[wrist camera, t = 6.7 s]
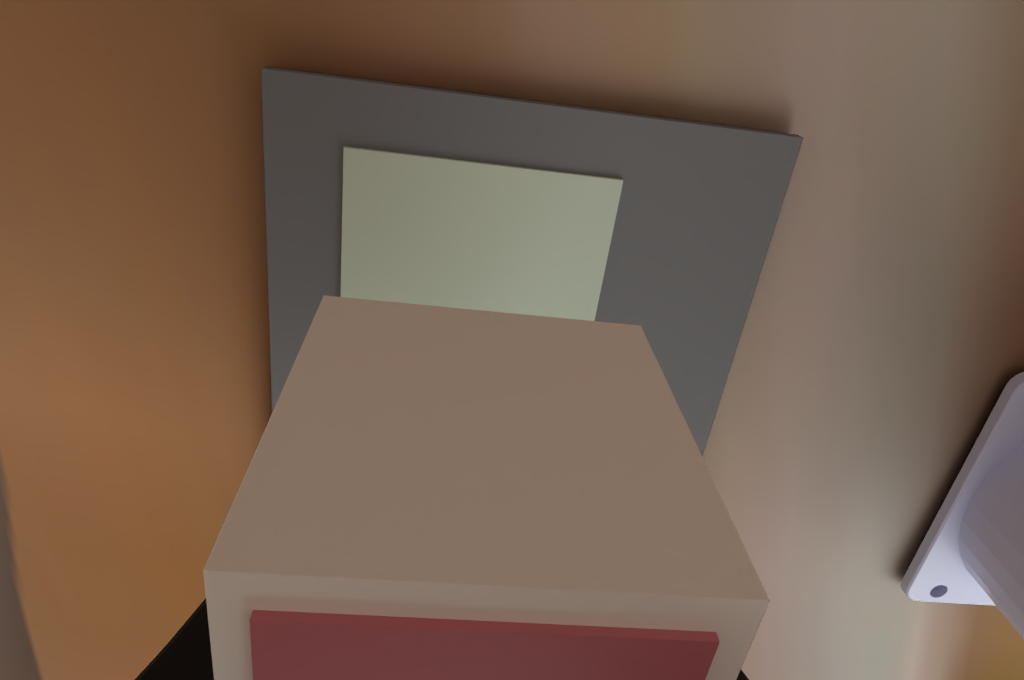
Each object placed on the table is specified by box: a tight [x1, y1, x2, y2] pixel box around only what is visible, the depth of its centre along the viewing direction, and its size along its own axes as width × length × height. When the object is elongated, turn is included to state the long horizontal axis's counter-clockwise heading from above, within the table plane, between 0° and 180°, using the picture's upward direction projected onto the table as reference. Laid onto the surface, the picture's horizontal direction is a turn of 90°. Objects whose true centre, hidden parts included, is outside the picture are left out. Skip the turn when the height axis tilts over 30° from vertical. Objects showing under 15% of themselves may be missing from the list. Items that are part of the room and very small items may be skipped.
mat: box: [261, 66, 803, 456], centre depth 18 cm, size 11×18×1 cm, turn 173°
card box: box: [203, 295, 770, 680], centre depth 10 cm, size 8×4×5 cm, turn 173°
